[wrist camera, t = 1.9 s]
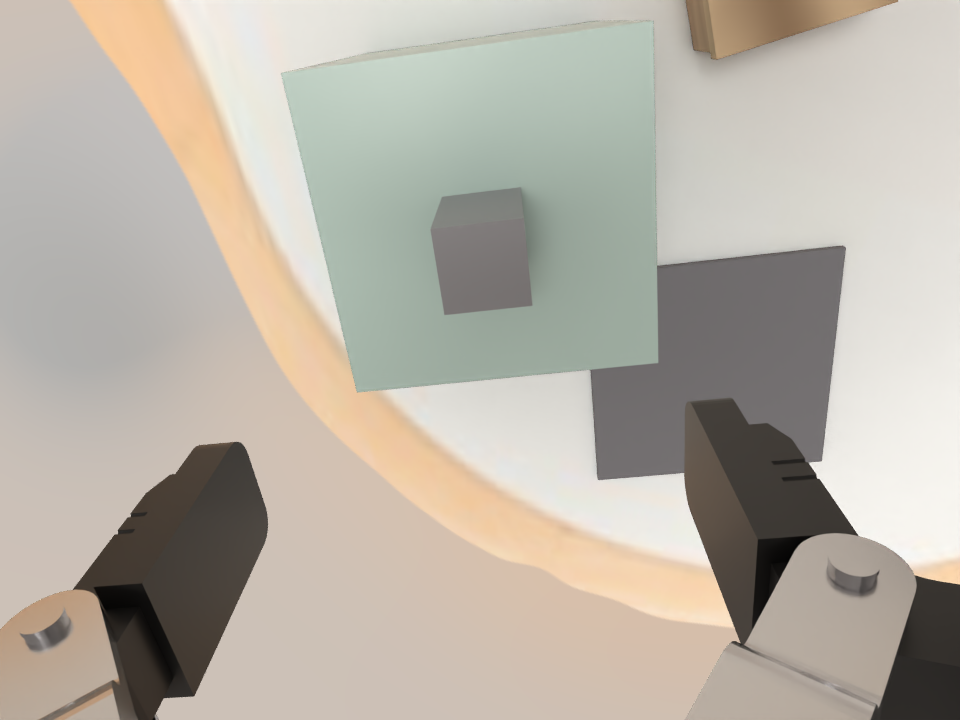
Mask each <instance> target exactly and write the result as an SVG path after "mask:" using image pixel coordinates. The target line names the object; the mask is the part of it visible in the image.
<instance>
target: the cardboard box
mask: <svg viewBox="0 0 960 720" xmlns="http://www.w3.org/2000/svg"><path fill="white" fill-rule="evenodd" d="M895 2H898V0H686V5H687V11H688V17H689V23H690V30H691V36H692V42H693V49H694V50H697V51H703V52H710V54H711V59H716V60H717V59H721V58H724V57H727V56H730V55H733V54H736V53H739V52H742V51H745V50H749V49H752V48H755V47H758V46H761V45H764V44H767V43H770V42H774V41H777V40H780V39H783V38H786V37H789V36H792V35H795V34H798V33H802V32H805V31H808V30H811V29H814V28H817V27H820V26H823V25H827V24H830V23H833V22H836V21H839V20H842V19H845V18H848V17H852V16H855V15H858V14H861V13H864V12H867V11H870V10H873V9H876V8H880V7H883V6H886V5H889V4H892V3H895Z"/></svg>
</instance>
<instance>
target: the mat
mask: <svg viewBox="0 0 960 720" xmlns="http://www.w3.org/2000/svg"><path fill="white" fill-rule="evenodd" d="M845 250H846V248H845V247H844V246H836V247H827V248H818V249H809V250H800V251H791V252H782V253H773V254H763V255H754V256H745V257H736V258H727V259H718V260H709V261H700V262H691V263H682V264H673V265H664V266H657V304H658V363H653V364H643V365H632V366H622V367H612V368H602V369H592V370H591V380H592V396H593V411H594V427H595V443H596V459H597V474H598V480H605V479H617V478H629V477H640V476H652V475H664V474H676V473H684V457H685V407H686V403H687V402H688V401H698V400H709V399H720V398H732V399H733V400H734V401H735V402H736V404H737V406H738V407H739V409H740V411H741V412H742V414H743V416H744V417H745V419H746V421H747V422H748V424H749V425H750V424H762V423H768V424H770V425H771V426H773V427H774V428H776V429H777V430H779V431H780V432H782V433H784V434H785V435H787V436H788V437H790V438H791V439H792V440H793V441H794V443H795V444H796V446H797V447H798V449H799V450H800V452H801V453H802V455H803V456H804V457H805V461H806V462H819V461H822V454H823V445H824V437H825V428H826V419H827V410H828V401H829V392H830V383H831V374H832V365H833V357H834V348H835V339H836V330H837V321H838V312H839V303H840V294H841V285H842V277H843V268H844V259H845Z"/></svg>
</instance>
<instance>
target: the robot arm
mask: <svg viewBox="0 0 960 720" xmlns="http://www.w3.org/2000/svg"><path fill="white" fill-rule="evenodd" d="M684 477H685V488H686V495H687V500H688V505H689V508H690V511H691V514H692V517H693V519H694V522H695V524H696V527H697V530H698V532H699V535H700V538H701V540H702V543H703V545H704V548H705V551H706V553H707V556H708V559H709V561H710V564H711V567H712V569H713V572H714V574H715V577H716V580H717V582H718V585H719V588H720V590H721V593H722V595H723V598H724V601H725V603H726V606H727V609H728V611H729V614H730V616H731V619H732V622H733V624H734V627H735V630H736V632H737V635H738V637H739V640H740V642H741V643H738V642H736V641H732V642H731V643H730V644H729V645H728V646H727V647H726V648H725V650H724V651H723V653H722V654H721V656H720V658H719V659H718V661H717V663H716V665H715V667H714V669H713V670H712V672H711V674H710V676H709V677H708V679H707V681H706V683H705V685H704V687H703V688H702V690H701V692H700V694H699V695H698V697H697V699H696V701H695V703H694V704H693V706H692V708H691V710H690V712H689V713H688V715H687V717H686V719H685V720H960V585H959V584H952V583H946V582H940V581H935V580H930V579H926V578H922V577H919V576H915V575H914V573H913V571H912V570H911V568H910V567H909V565H908V564H907V563H906V562H905V561H904V560H903V559H902V558H901V557H900V556H899V555H897V554H896V553H895V552H894V551H892V550H890V549H889V548H887V547H886V546H884V545H881V544H879V543H877V542H875V541H872V540H870V539H867V538H863V537H860V536H858V534H857V533H856V531H855V530H854V529H853V527H852V526H851V524H850V523H849V521H848V520H847V518H846V517H845V515H844V514H843V513H842V511H841V510H840V508H839V507H838V505H837V504H836V502H835V501H834V500H833V498H832V497H831V495H830V494H829V492H828V491H827V489H826V488H825V486H824V485H823V484H822V482H821V481H820V479H817V477H816V473H815V472H814V470H813V469H812V468H811V466H810V465H809V463H808V462H806V461H805V457H804V456H803V455H802V453H801V452H800V450H799V449H798V447H797V446H796V444H795V443H794V441H793V440H792V439H791V438H790V437H788V436H787V435H785V434H784V433H782V432H780V431H779V430H777V429H776V428H774V427H773V426H771V425H770V424H768V423H762V424H750V425H749V424H748V422H747V421H746V419H745V417H744V416H743V414H742V412H741V411H740V409H739V407H738V406H737V404H736V402H735V401H734V400H733V399H732V398H720V399H709V400H698V401H688V402H687V403H686V407H685V457H684ZM267 530H268V518H267V511H266V507H265V504H264V501H263V498H262V495H261V492H260V489H259V486H258V483H257V480H256V477H255V474H254V471H253V468H252V465H251V462H250V459H249V456H248V453H247V451H246V449H245V447H244V446H243V445H242V444H241V443H239V442H230V443H219V444H208V445H199V446H197V447H195V448H194V449H193V450H192V452H191V453H190V455H189V456H188V457H187V459H186V460H185V461H184V463H183V464H182V466H181V467H180V468H179V470H178V471H177V472H176V474H172V475H169V476H168V477H167V478H165V479H164V480H163V481H162V482H160V483H159V484H158V485H156V486H155V487H154V488H152V489H151V490H150V491H149V492H147V493H146V494H145V495H144V497H143V498H142V499H141V501H140V502H139V503H138V505H137V506H136V507H135V509H134V510H133V511H132V513H131V517H129V518H127V519H126V521H125V522H124V523H123V524H122V526H121V527H120V528H119V530H118V534H117V535H114V536H113V537H112V539H111V540H110V542H109V543H108V544H107V545H106V547H105V548H104V549H103V551H102V552H101V553H100V555H99V556H98V557H97V559H96V560H95V561H94V563H93V564H92V565H91V567H90V568H89V569H88V570H87V572H86V573H85V575H84V576H83V577H82V578H81V580H80V581H79V582H78V584H77V585H76V586H75V587H74V589H73V590H69V591H63V592H59V593H56V594H53V595H50V596H48V597H45V598H43V599H41V600H39V601H37V602H35V603H33V604H31V605H30V606H28V607H26V608H25V609H23V610H22V611H20V612H19V613H18V614H16V615H15V616H14V617H13V618H11V619H10V620H9V621H8V622H7V623H6V624H5V625H4V626H3V627H2V628H1V629H0V720H159V719H158V717H157V715H156V712H157V710H158V708H159V706H160V704H161V702H162V700H163V698H173V697H190V696H195V694H196V691H197V689H198V687H199V685H200V683H201V681H202V678H203V676H204V674H205V672H206V669H207V667H208V665H209V663H210V661H211V659H212V657H213V654H214V652H215V650H216V648H217V646H218V644H219V641H220V639H221V637H222V635H223V633H224V630H225V628H226V626H227V624H228V622H229V619H230V617H231V615H232V613H233V611H234V609H235V606H236V604H237V602H238V600H239V597H240V596H241V593H242V591H243V589H244V587H245V585H246V583H247V580H248V578H249V576H250V574H251V572H252V570H253V567H254V565H255V563H256V561H257V559H258V556H259V554H260V552H261V550H262V548H263V546H264V543H265V540H266V537H267Z"/></svg>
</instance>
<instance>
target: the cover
mask: <svg viewBox="0 0 960 720" xmlns="http://www.w3.org/2000/svg"><path fill="white" fill-rule="evenodd" d="M281 75H282V79H283V84H284V88H285V92H286V96H287V100H288V105H289V109H290V113H291V117H292V121H293V126H294V130H295V134H296V138H297V142H298V147H299V151H300V155H301V159H302V163H303V168H304V172H305V176H306V180H307V184H308V189H309V193H310V197H311V201H312V205H313V210H314V214H315V218H316V222H317V226H318V231H319V235H320V239H321V243H322V247H323V252H324V256H325V260H326V264H327V268H328V273H329V277H330V281H331V285H332V289H333V294H334V298H335V302H336V306H337V310H338V315H339V319H340V323H341V327H342V331H343V336H344V340H345V344H346V348H347V352H348V357H349V361H350V365H351V369H352V373H353V378H354V382H355V386H356V390H357V392H367V391H377V390H387V389H398V388H408V387H418V386H428V385H439V384H449V383H459V382H469V381H479V380H490V379H500V378H510V377H520V376H530V375H541V374H551V373H561V372H571V371H581V370H592V369H602V368H612V367H622V366H632V365H643V364H653V363H658V304H657V233H656V163H655V92H654V21H592V22H585V23H578V24H571V25H564V26H557V27H550V28H543V29H536V30H529V31H522V32H515V33H508V34H501V35H494V36H487V37H479V38H472V39H465V40H458V41H451V42H444V43H437V44H430V45H423V46H416V47H409V48H402V49H395V50H388V51H381V52H374V53H367V54H362V55H357V56H353V57H349V58H344V59H340V60H336V61H331V62H327V63H323V64H318V65H314V66H310V67H305V68H301V69H297V70H292V71H288V72H284V73H281Z"/></svg>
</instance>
